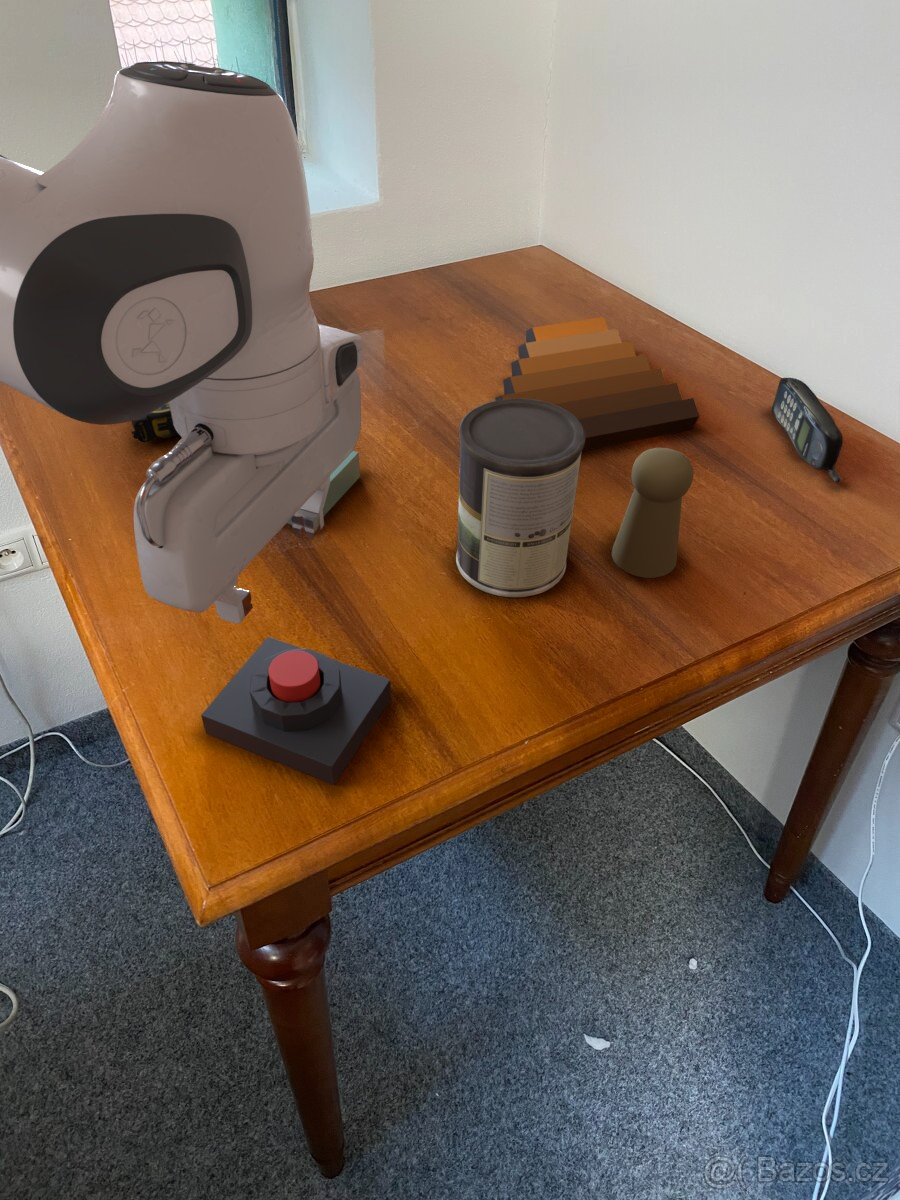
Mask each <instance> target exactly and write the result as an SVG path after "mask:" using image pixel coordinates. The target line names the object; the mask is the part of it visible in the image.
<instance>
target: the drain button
mask: <svg viewBox="0 0 900 1200" xmlns="http://www.w3.org/2000/svg"><path fill="white" fill-rule="evenodd" d="M268 673H269V679H270V684H271V689H272V692H273V694H274V695H275V696H276V697H277V698H278V699H280V700H282V701H285V702H301V701H305V700H307V699H309V698H311V697H312V696H313V695H314V694H315V693H316V692H317V691H318V689H319V687H320V674H319V666H318V662H317V660H316V659H315V658H314V657H313V656H312V655H311V654H309V653H307V652H304V651H289V652H285V653H282V654H280V655H279V656H277V657H276V658H275V659H274V660H273V661H272V662H271V664H270V666H269V670H268Z"/></svg>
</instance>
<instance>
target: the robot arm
mask: <svg viewBox="0 0 900 1200" xmlns="http://www.w3.org/2000/svg"><path fill="white" fill-rule="evenodd" d="M309 200H310V199H309V191H308V185H307V179H306V172H305V166H304V161H303V157H302V152H301V147H300V143H299V139H298V135H297V132H296V128H295V125H294V122H293V120H292V117H291V113H290V112H289V109H288V107H287V105H286V103H285V101H284V99H283V97H282V96H281V95H280V93H278V92H277V91H276V90H275V89H273V88H272V87H271V85H269V84H268V83H267V82H265V81H264V80H262V79H259V78H257V77H254V76H253V75H248V74H245V73H241V72H237V71H233V70H230V69H225V68H221V67H217V66H213V67H211V66H204V65H198V64H195V63H191V62H182V61H181V62H180V61H166V60H165V61H164V60H149V61H141V62H140V61H139V62H135V63H133V64H131V65H129V66H126V67H122V68H121V69H119V70H118V71H117V73H116V74H115V76H114V81H113V87H112V92H111V96H110V98H109V101H108V102H107V105H106V106H105V107H104V110H103V111H102V113H101V114H100V115H99V117H98V119H97V120H96V121H95V123H94V125H93V126H92V128H91V129H90V130H89V131H88V132H87V133H86V135H85V136H84V137H83V139H81V140H80V141H79V143H78V144H77V145H76V146H75V147H74V148H73V149H72V150H70V152H68V154H67V155H66V156H64V158H62V159H61V160H60V161H59V162H57V163H56V164H55V165H54V166H52V167H51V168H49V169H48V170H46V171H44V172H43V171H40V170H38V169H35V168H32V167H30V166H27V165H24V164H22V163H19V162H16V161H14V160H11V159H9V158H7V157H5V156H4V155H2V154H0V383H2V384H3V385H5V386H7V387H10V388H12V389H14V390H16V391H17V392H19V393H21V394H23V395H24V396H27V397H28V398H29V399H32V400H34V401H35V402H37V403H39V404H41V405H43V406H45V407H47V408H49V410H52V411H55V412H57V413H59V414H61V415H63V416H66V417H68V418H70V419H72V420H75V421H78V422H81V423H85V424H92V425H99V426H101V425H103V426H104V425H105V426H107V425H110V426H111V425H120V424H125V423H128V422H131V421H132V420H135V419H138V418H140V417H143V416H145V415H147V414H149V413H151V412H153V411H155V410H156V409H158V408H160V407H162V406H163V405H165V404H167V403H168V402H169V406H170V411H171V415H172V420H173V424H174V427H175V429H176V431H177V432H178V434H179V435H178V436H180V437H181V439H180V440H179V441H178V442H177V443H176V444H175V445H174V446H173V447H172V448H171V450H170V451H168V452H167V453H166V454H164V455H161V456H160V457H159V458H157V459H155V461H153V462H152V463H151V464H150V466H149V467H148V468H147V470H146V471H145V476H146V480H145V481H144V483H143V484H142V485H141V487H140V489H139V490H138V492H137V494H136V496H135V500H134V504H133V531H134V540H135V541H134V542H135V547H136V554H137V555H136V556H137V562H138V566H139V572H140V578H141V581H142V585H143V588H144V591H145V593H146V595H148V596H149V597H150V598H151V599H153V600H154V601H157V602H159V603H161V604H164V605H166V606H169V607H172V608H175V609H179V610H183V611H186V612H191V613H198V614H201V613H204V612H206V611H208V609H209V608H210V607H211V606H212V605H213V604H214V606H215V611H216V614H217V616H218V618H220V619H221V620H223V621H226V622H228V623H232V624H235V625H240V624H241V623H242V622H243V620H245V618H246V617H247V615H248V614H249V613H250V612H251V611H252V609H254V606H253V603H252V595H251V591H250V590H246V589H244V588H237V587H236V586H237V585H238V583H239V579H238V576H239V575H241V574H242V572H243V571H245V569H246V568H247V567H248V566H249V565H250V564H251V563H252V562H253V560H254V559H255V558H256V557H257V556H258V555H259V554H260V553H261V551H263V549H264V548H266V546H267V545H268V544H269V543H270V542H271V541H272V540H273V538H274V537H275V536H276V535H277V534H278V533H279V532H281V530H282V529H283V528H284V527H285V525H287V522H288V521H289V520H290V519H291V522H292V523H293V525H291V527H292V531H293V533H294V534H295V535H296V536H297V537H305V539H308V540H312V539H314V538H315V537H316V535H318V534H319V533H320V531H321V530H322V529H323V528H324V526H325V520H324V519H325V518H324V517H323V508H324V505H325V501H326V497H327V493H328V489H329V485H330V475H331V474H332V473H333V472H334V471H335V470H336V469H337V467H338V466H339V465H340V464H341V463H342V462H343V461H344V460H345V459H346V458H347V456H348V455H349V454H350V453H351V452H352V451H355V448H356V446H357V443H358V440H359V436H360V432H361V427H362V392H361V391H362V390H361V379H360V374H359V371H358V369H359V367H360V366H361V364H362V361H363V342H362V338H361V336H360V335H359V334H356V333H354V332H353V333H352V332H351V331H346V330H342V329H339V328H335V327H332V326H328V325H324V324H321V323H319V321H318V319H317V316H316V313H315V311H314V309H313V306H312V302H311V296H310V295H311V294H310V287H311V286H310V285H311V280H312V275H313V270H314V263H315V262H314V260H315V253H314V252H315V251H314V240H313V227H312V219H311V218H312V217H311V208H310V207H311V206H310V201H309Z"/></svg>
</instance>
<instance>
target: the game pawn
mask: <svg viewBox="0 0 900 1200" xmlns="http://www.w3.org/2000/svg"><path fill="white" fill-rule="evenodd" d="M630 477H631V482H632V485H633V488H634V489H633V492H632V494H631V497H630V500H629V502H628V505H627V508H626V511H625V513H624V516H623V518H622V522H621V524H620V527H619V529H618V532H617V534H616V537H615V541H614V542H613V546H612V548H611V549H612V550H611V553H610V554H611V558H612V560H613V562H614V563H615V565H616V566H617V567H618V568H619V569H621V570H622V571H624V572H625V573H628V574H630V575H632V576H634V577H640V578H643V579H647V578H649V579H651V578H653V579H655V578H660V577H663V576H667V575H668V574H670V573H672V572H673V570H674V569H675V567H676V566H677V560H678V549H679V537H680V527H681V526H680V525H681V513H682V503H683V502H682V501H683V497H684V496H685V495H686V494H687V493H688V491H690V488H691V486H692V483H693V480H694V468H693V465H692V463H691V460H690V459H689V458H688V457H687V455H685V454H684V453H682V452H680V451H678V450H675V449H672V448H668V447H654V448H648V449H647V450H644V451H643V452H641V453H640V454H639V455H638V456H637V457H636V458H635V460H634V463H633V465H632V469H631V475H630Z"/></svg>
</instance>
